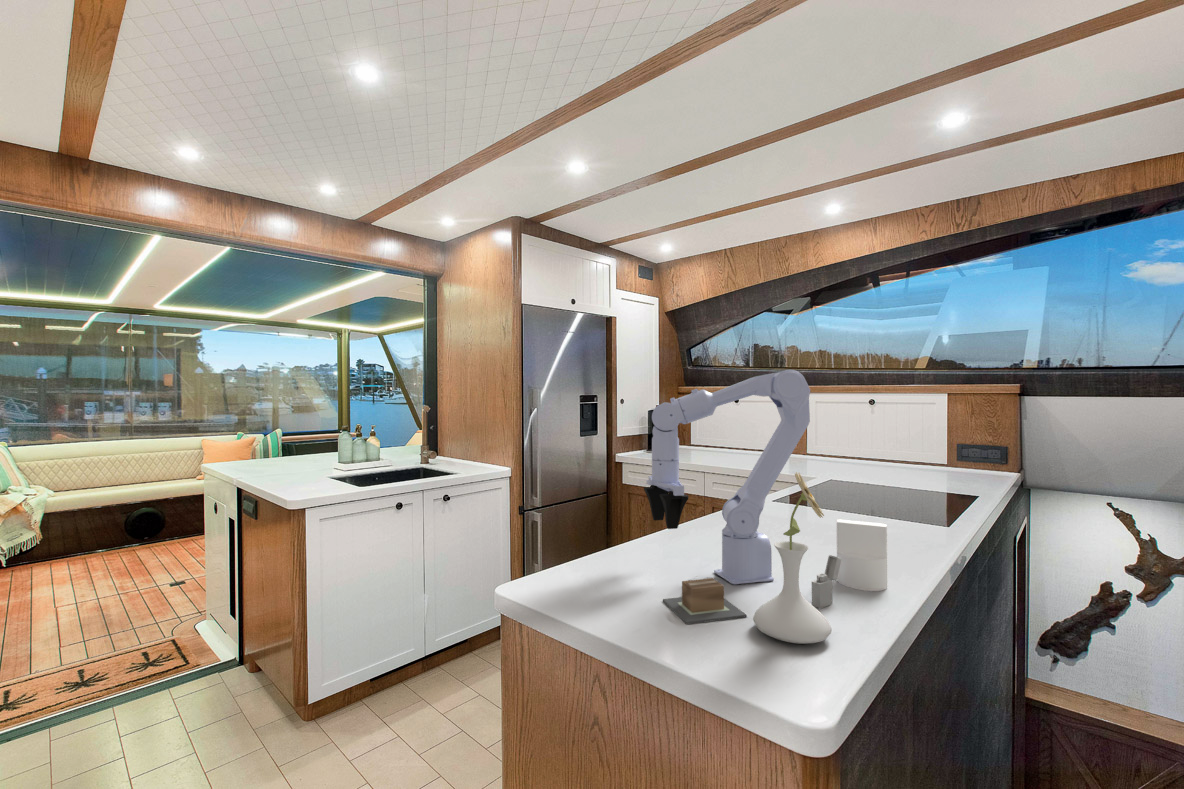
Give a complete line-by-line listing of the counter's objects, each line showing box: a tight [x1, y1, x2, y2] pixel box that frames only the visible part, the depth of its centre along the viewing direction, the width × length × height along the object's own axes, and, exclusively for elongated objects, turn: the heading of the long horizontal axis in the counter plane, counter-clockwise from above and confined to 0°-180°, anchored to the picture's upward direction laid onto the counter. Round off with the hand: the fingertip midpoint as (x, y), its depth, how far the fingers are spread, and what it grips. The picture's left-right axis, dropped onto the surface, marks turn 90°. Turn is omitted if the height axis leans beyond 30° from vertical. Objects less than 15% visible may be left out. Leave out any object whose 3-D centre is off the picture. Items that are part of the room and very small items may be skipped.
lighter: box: [811, 554, 841, 610], centre depth 93 cm, size 7×2×8 cm, turn 126°
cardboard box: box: [681, 577, 725, 613], centre depth 90 cm, size 4×6×4 cm, turn 106°
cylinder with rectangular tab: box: [836, 518, 888, 592], centre depth 104 cm, size 9×9×12 cm
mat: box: [662, 596, 748, 625], centre depth 90 cm, size 11×10×1 cm
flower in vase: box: [752, 471, 832, 645], centre depth 81 cm, size 13×11×25 cm
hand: (665, 524), depth 109 cm, fingers open, 7 cm apart
